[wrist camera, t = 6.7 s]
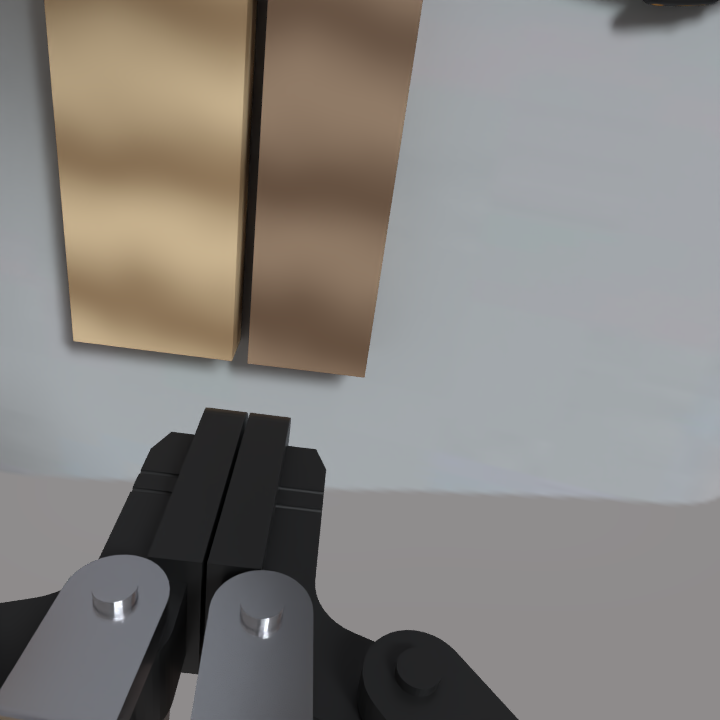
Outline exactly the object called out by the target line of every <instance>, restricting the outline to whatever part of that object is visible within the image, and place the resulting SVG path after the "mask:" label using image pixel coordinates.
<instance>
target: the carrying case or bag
mask: <svg viewBox="0 0 720 720" xmlns="http://www.w3.org/2000/svg"><path fill="white" fill-rule="evenodd" d="M643 1H644V2H645V3H647V4H652V5H658V6H699V5H709V4H714V3H716V2H717V1H718V0H643Z"/></svg>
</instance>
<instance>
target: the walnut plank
mask: <svg viewBox="0 0 720 720" xmlns="http://www.w3.org/2000/svg"><path fill="white" fill-rule="evenodd" d="M422 2H423V0H268V7H267V25H266V43H265V61H264V79H263V97H262V114H261V132H260V150H259V168H258V186H257V204H256V221H255V239H254V257H253V275H252V293H251V311H250V328H249V346H248V364H256V365H265V366H273V367H281V368H289V369H298V370H306V371H314V372H323V373H331V374H339V375H348V376H356V377H365V371H366V364H367V358H368V351H369V345H370V339H371V332H372V326H373V319H374V313H375V306H376V300H377V293H378V287H379V280H380V274H381V267H382V261H383V254H384V248H385V242H386V235H387V229H388V222H389V216H390V209H391V203H392V196H393V190H394V183H395V177H396V170H397V164H398V158H399V151H400V145H401V138H402V132H403V125H404V119H405V112H406V106H407V99H408V93H409V86H410V80H411V73H412V67H413V61H414V54H415V48H416V41H417V35H418V28H419V22H420V15H421V9H422Z"/></svg>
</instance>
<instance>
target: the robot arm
mask: <svg viewBox="0 0 720 720" xmlns="http://www.w3.org/2000/svg"><path fill="white" fill-rule="evenodd" d="M290 424H291V418H288V417H280V416H272V415H264V414H256V413H250V415H249V418H248V413H247V412H239V411H231V410H223V409H215V408H206V409H205V410H204V413H203V415H202V418H201V420H200V423H199V425H198V428H197V431H196V433H195V435H193V434H185V433H177V432H171V433H170V434H168V435H167V436H166V437H165V438H163V439H162V440H161V441H160V442H158V443H157V444H156V445H155V446H154V447H152V448H151V450H150V452H149V454H148V456H147V458H146V460H145V462H144V464H143V466H142V469H141V473H140V474H139V475H138V477H137V479H136V481H135V483H134V486H133V490H132V492H130V494H129V496H128V498H127V501H126V503H125V505H124V507H123V509H122V511H121V513H120V515H119V518H118V519H117V522H116V524H115V526H114V528H113V530H112V532H111V534H110V537H109V539H108V541H107V543H106V545H105V547H104V549H103V552H102V553H101V556H100V558H99V559H98V560H95V561H93V562H90V563H89V564H87V565H85V566H83V567H82V568H80V569H79V570H78V571H76V572H75V573H74V574H73V575H72V576H71V577H70V578H69V579H68V581H67V582H66V583H65V585H64V586H63V588H62V590H60V591H58V592H55V593H52V594H49V595H46V596H42V597H37V598H31V599H25V600H18V601H11V602H5V603H0V720H169V716H170V708H171V705H172V702H173V699H174V695H175V692H176V688H177V685H178V681H179V678H180V674H181V672H182V673H192V674H198V679H197V685H196V691H195V697H194V703H193V709H192V715H191V720H518V719H517V718H516V717H515V715H514V714H513V713H512V712H511V711H510V710H509V709H508V708H507V707H506V706H505V705H504V704H503V702H502V701H501V700H500V699H499V698H498V697H497V696H496V695H495V694H494V693H493V692H492V690H491V689H490V688H489V687H488V686H487V685H486V684H485V683H484V682H483V681H482V680H481V678H480V677H479V676H478V675H477V674H476V673H475V672H474V671H473V670H472V669H471V668H470V667H469V665H468V664H467V663H466V662H465V661H464V660H463V659H462V658H461V657H460V656H459V655H458V654H457V652H456V651H455V650H454V649H453V648H451V647H450V646H449V645H448V644H447V643H445V642H444V641H442V640H441V639H439V638H437V637H435V636H433V635H430V634H427V633H424V632H420V631H414V630H403V631H396V632H392V633H389V634H387V635H385V636H383V637H381V638H380V639H378V640H377V641H376V642H374V641H372V640H369V639H367V638H365V637H362V636H360V635H358V634H355V633H353V632H351V631H349V630H347V629H345V628H343V627H342V626H340V625H339V624H337V623H336V622H335V621H334V620H333V619H331V618H330V617H329V616H328V614H327V613H326V612H325V611H324V609H323V608H322V606H321V605H320V603H319V600H318V598H317V595H316V590H315V577H316V567H317V556H318V546H319V536H320V526H321V516H322V505H323V495H324V485H325V475H326V469H325V467H324V464H323V462H322V460H321V458H320V456H319V454H318V452H317V450H316V449H309V448H300V447H292V446H288V443H289V434H290Z"/></svg>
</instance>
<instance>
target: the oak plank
mask: <svg viewBox="0 0 720 720" xmlns="http://www.w3.org/2000/svg"><path fill="white" fill-rule="evenodd" d="M44 5H45V16H46V28H47V39H48V51H49V63H50V74H51V86H52V97H53V109H54V120H55V132H56V144H57V155H58V167H59V178H60V190H61V201H62V213H63V225H64V236H65V248H66V259H67V271H68V282H69V294H70V306H71V317H72V329H73V340H74V341H77V342H85V343H93V344H101V345H109V346H116V347H124V348H132V349H140V350H148V351H156V352H164V353H172V354H180V355H188V356H196V357H204V358H212V359H220V360H228V361H232V360H233V357H234V355H235V352H236V350H237V347H238V345H239V342H240V339H241V320H242V300H243V279H244V259H245V239H246V219H247V198H248V178H249V158H250V137H251V117H252V97H253V77H254V56H255V36H256V16H257V0H44Z"/></svg>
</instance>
